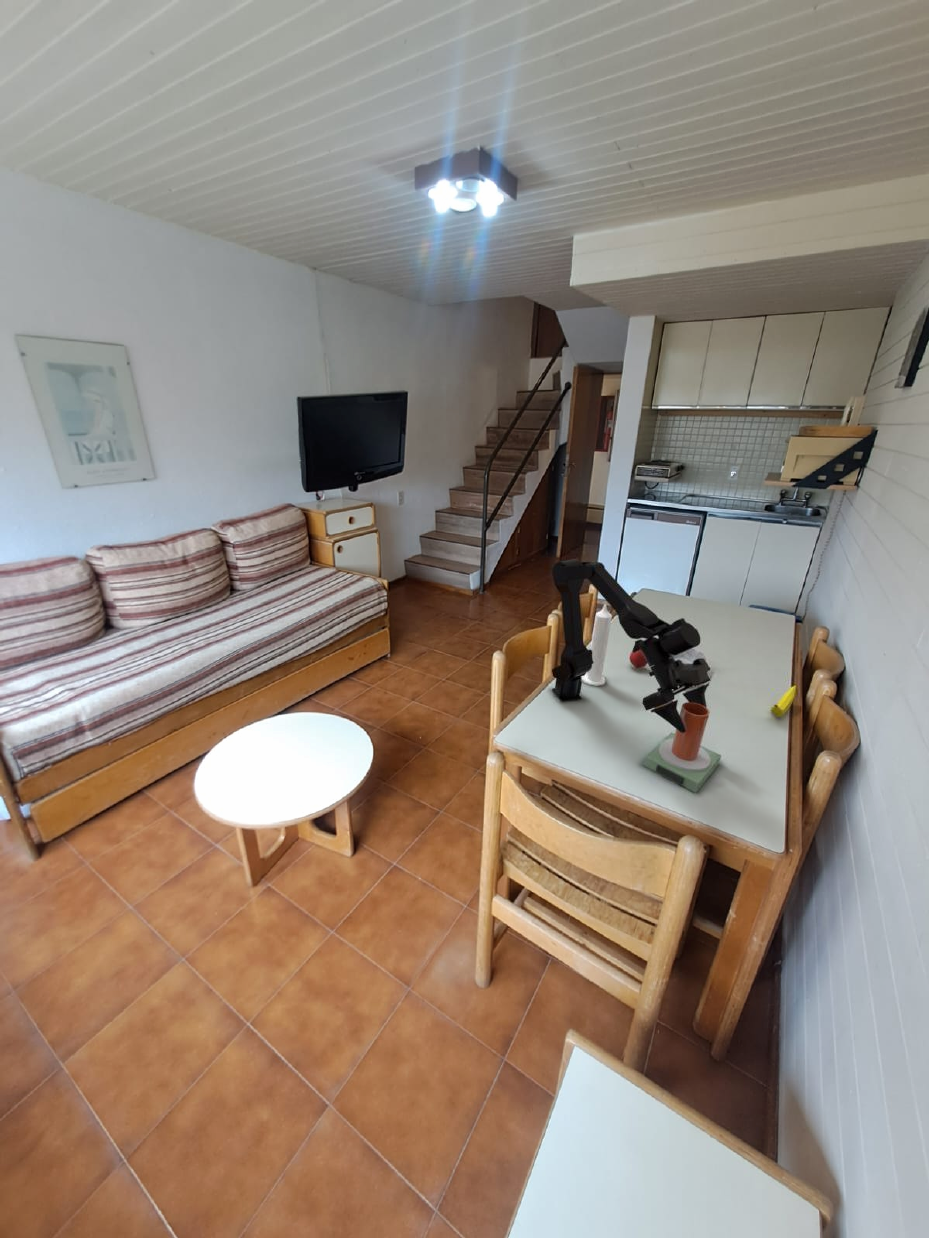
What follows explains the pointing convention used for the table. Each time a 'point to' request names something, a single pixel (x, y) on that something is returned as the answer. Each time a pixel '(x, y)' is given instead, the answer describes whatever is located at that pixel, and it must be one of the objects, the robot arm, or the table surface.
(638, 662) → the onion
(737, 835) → the table surface
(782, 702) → the banana
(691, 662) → the bowl
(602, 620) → the candle
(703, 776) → the scale
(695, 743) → the tumbler
